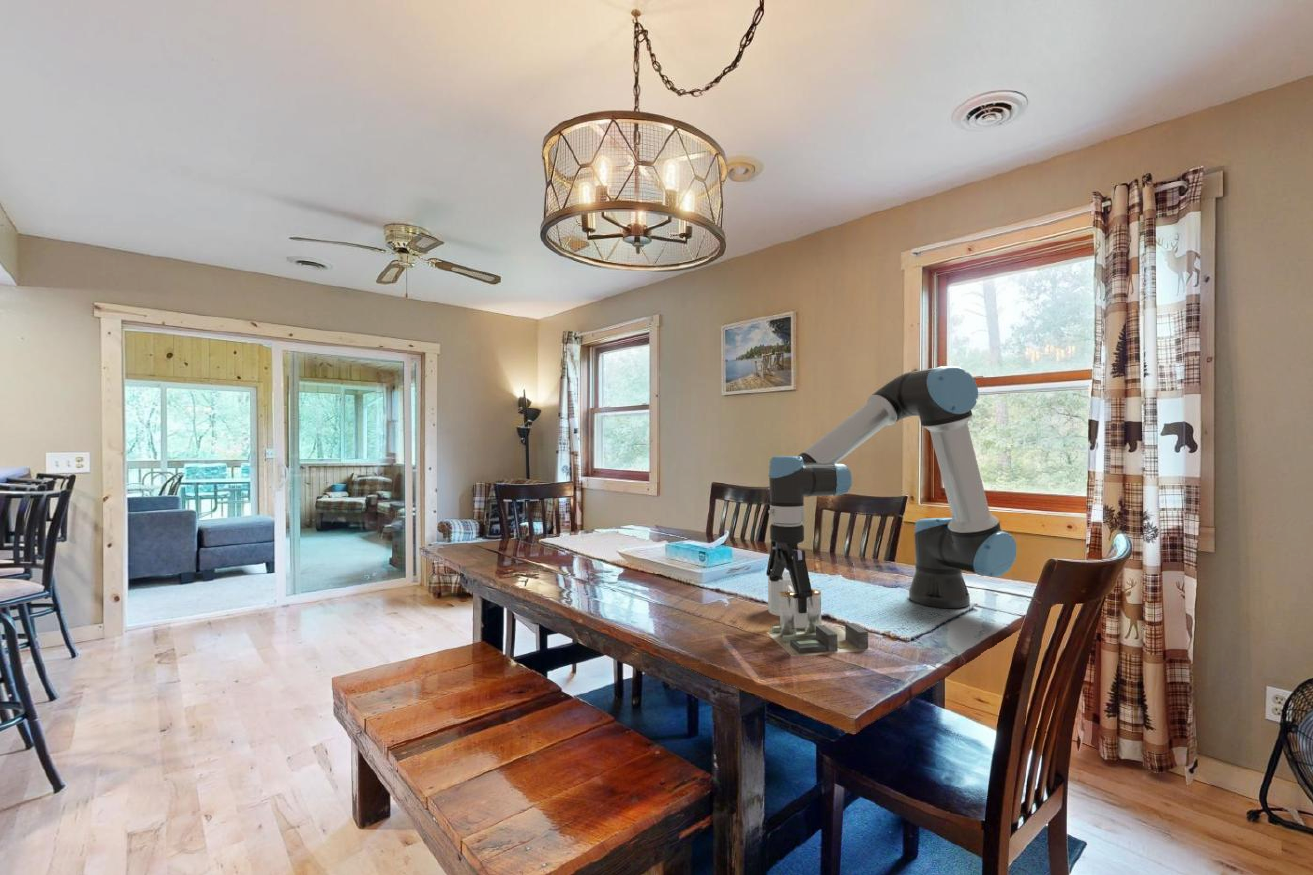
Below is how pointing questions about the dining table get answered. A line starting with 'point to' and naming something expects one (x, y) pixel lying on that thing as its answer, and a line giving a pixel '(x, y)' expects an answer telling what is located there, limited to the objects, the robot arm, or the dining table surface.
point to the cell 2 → (813, 611)
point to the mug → (786, 586)
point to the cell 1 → (787, 613)
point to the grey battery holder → (823, 640)
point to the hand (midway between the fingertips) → (788, 617)
